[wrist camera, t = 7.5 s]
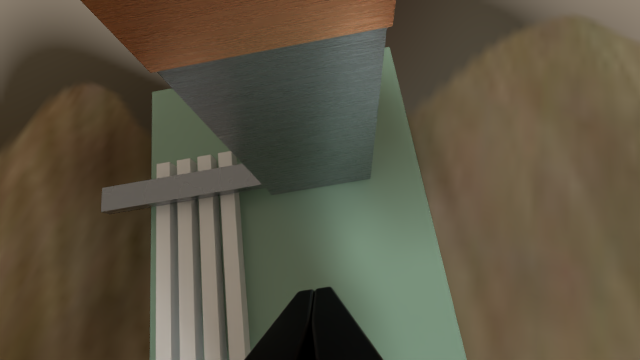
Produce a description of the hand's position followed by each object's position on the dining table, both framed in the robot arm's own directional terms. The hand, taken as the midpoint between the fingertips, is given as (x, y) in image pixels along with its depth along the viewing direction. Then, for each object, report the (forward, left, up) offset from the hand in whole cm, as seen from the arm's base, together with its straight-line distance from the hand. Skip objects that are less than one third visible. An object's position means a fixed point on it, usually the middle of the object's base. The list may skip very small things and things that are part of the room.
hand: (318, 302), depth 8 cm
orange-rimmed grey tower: (+9, -4, -8) cm, 12 cm away
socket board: (+4, -1, -9) cm, 10 cm away
